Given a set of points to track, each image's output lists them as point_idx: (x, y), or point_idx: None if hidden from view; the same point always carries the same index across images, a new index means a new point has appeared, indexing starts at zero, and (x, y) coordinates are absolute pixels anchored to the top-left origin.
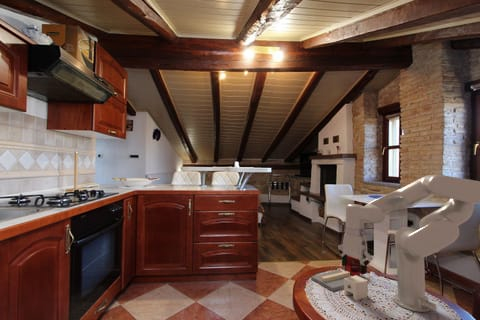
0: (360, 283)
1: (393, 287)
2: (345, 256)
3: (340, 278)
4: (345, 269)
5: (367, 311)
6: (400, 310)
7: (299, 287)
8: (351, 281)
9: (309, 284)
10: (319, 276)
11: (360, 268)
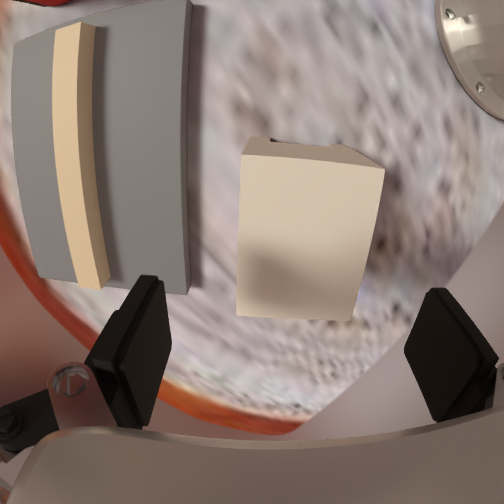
0: (362, 263)
1: None
2: (123, 413)
3: (94, 128)
4: (31, 3)
5: (409, 295)
6: (496, 155)
7: None
8: (308, 313)
9: (94, 316)
10: (43, 238)
11: (423, 392)
